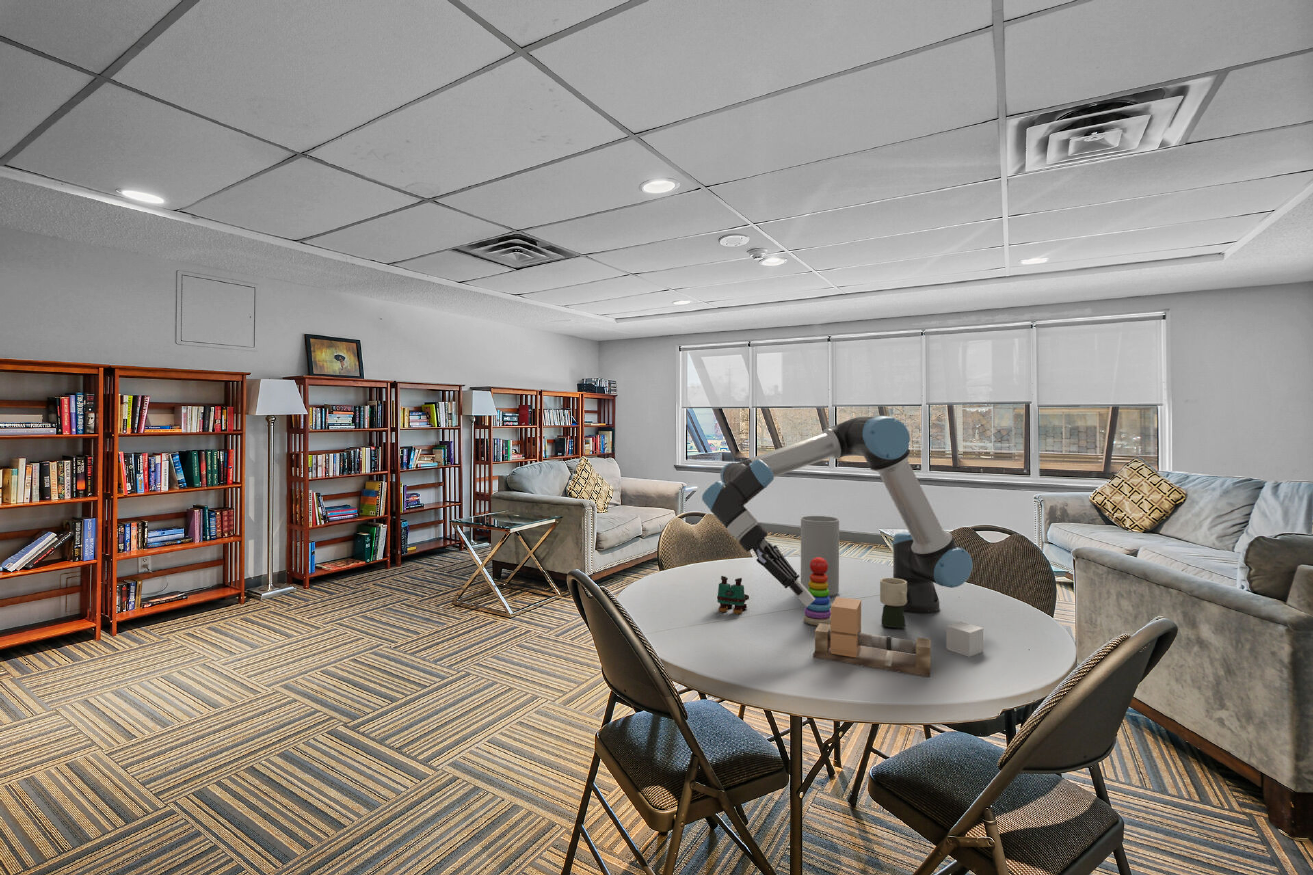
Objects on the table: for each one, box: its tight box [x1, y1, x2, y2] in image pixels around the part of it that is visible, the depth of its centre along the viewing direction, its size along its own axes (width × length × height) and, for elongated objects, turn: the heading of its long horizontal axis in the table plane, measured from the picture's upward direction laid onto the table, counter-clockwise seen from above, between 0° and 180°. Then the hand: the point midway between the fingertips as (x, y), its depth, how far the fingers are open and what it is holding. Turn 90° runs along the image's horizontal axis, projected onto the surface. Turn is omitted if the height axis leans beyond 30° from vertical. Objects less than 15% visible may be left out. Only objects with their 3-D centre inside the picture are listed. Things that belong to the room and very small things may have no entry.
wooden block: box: [830, 596, 862, 657], centre depth 147 cm, size 6×8×12 cm
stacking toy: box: [803, 557, 832, 627], centre depth 171 cm, size 8×8×19 cm
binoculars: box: [716, 575, 750, 615], centre depth 183 cm, size 9×11×10 cm
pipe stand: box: [812, 623, 932, 678], centre depth 144 cm, size 26×10×6 cm, turn 64°
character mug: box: [879, 577, 907, 629], centre depth 167 cm, size 11×7×13 cm, turn 11°
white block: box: [946, 621, 984, 657], centre depth 150 cm, size 6×6×6 cm
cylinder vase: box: [800, 515, 840, 597], centre depth 201 cm, size 12×12×25 cm
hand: (811, 602), depth 150 cm, fingers closed
